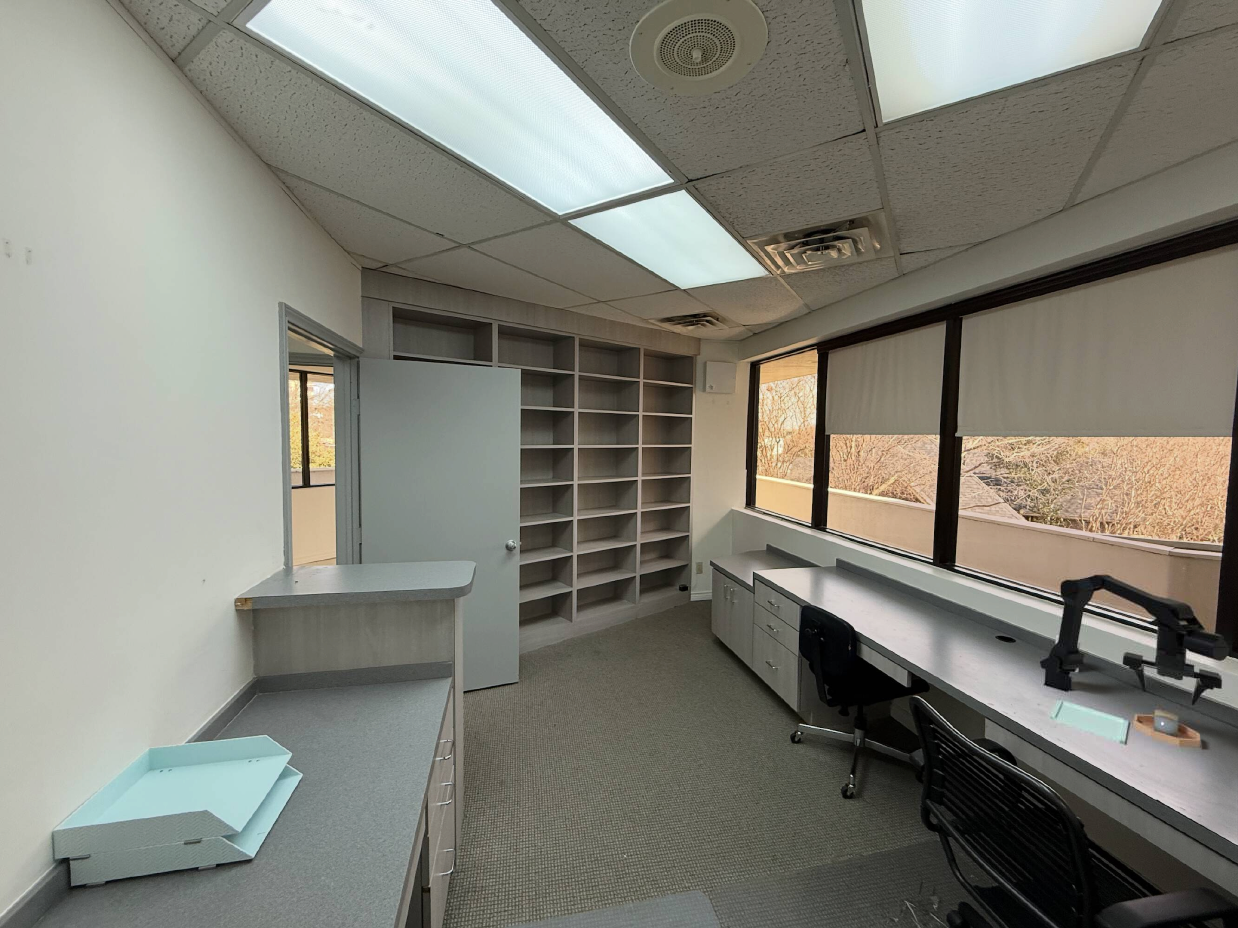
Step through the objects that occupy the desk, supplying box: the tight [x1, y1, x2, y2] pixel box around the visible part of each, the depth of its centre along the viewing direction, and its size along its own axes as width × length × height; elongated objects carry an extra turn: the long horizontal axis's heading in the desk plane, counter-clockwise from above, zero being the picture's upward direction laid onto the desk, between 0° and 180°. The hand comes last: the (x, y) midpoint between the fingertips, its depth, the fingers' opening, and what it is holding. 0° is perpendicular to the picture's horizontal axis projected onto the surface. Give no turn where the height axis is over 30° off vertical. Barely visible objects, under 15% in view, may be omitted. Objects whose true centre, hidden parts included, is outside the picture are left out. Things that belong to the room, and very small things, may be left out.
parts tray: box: [1049, 698, 1130, 745], centre depth 148 cm, size 16×17×1 cm
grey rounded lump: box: [1153, 714, 1179, 738], centre depth 141 cm, size 5×5×5 cm
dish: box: [1132, 713, 1201, 748], centre depth 142 cm, size 13×13×2 cm
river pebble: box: [1154, 709, 1179, 723], centre depth 144 cm, size 5×5×5 cm
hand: (1168, 698), depth 140 cm, fingers open, 9 cm apart
